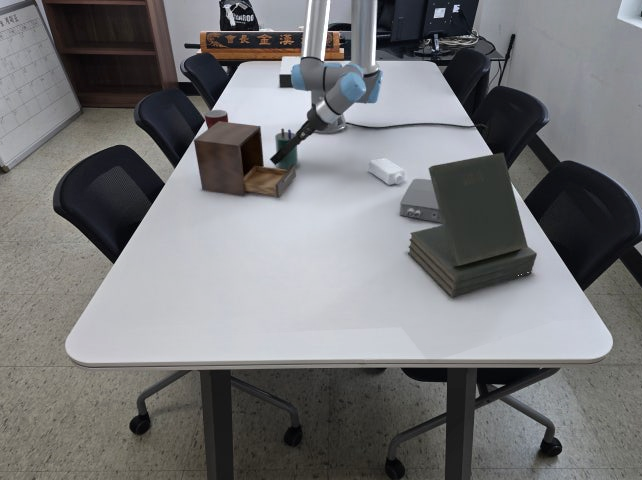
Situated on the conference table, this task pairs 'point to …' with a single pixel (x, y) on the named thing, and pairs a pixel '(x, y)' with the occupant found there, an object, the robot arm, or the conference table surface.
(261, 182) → the drawer
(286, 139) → the pen pot
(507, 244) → the stack of books
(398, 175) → the white bottle
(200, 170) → the open wooden box
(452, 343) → the conference table surface
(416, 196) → the electronic device
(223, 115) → the mug
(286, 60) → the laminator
